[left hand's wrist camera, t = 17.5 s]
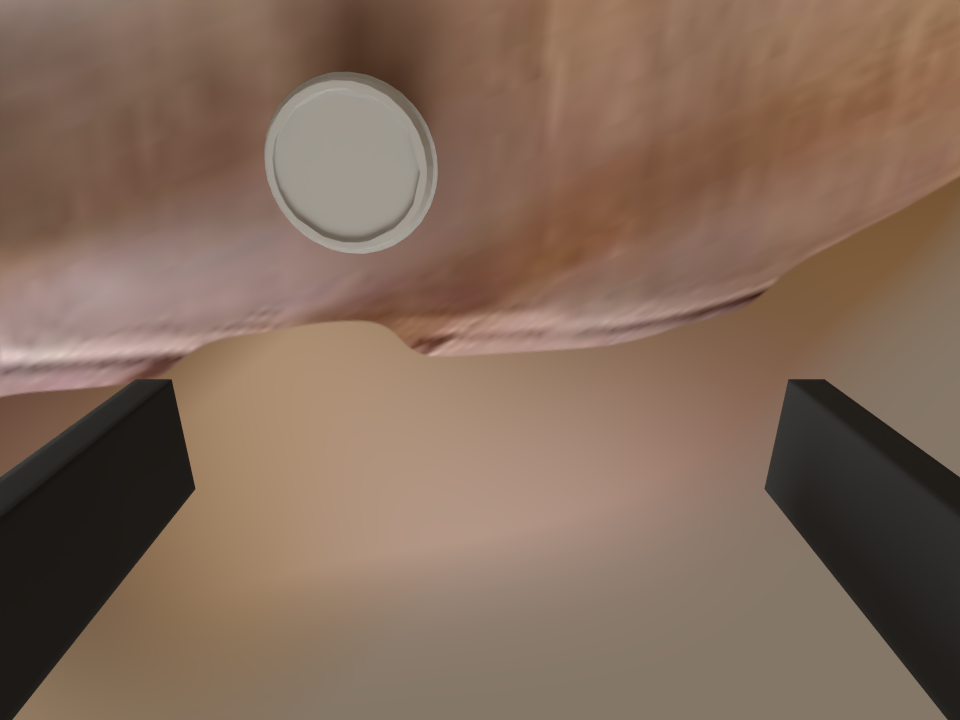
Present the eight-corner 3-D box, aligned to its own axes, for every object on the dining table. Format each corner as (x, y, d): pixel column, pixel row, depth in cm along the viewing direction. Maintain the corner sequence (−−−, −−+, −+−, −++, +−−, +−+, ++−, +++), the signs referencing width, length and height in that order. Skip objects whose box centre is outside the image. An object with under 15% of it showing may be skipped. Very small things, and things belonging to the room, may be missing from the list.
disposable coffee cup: (430, 239, 44) (413, 277, 33) (306, 205, 43) (245, 231, 32) (462, 108, 40) (456, 100, 29) (328, 68, 39) (269, 43, 28)
